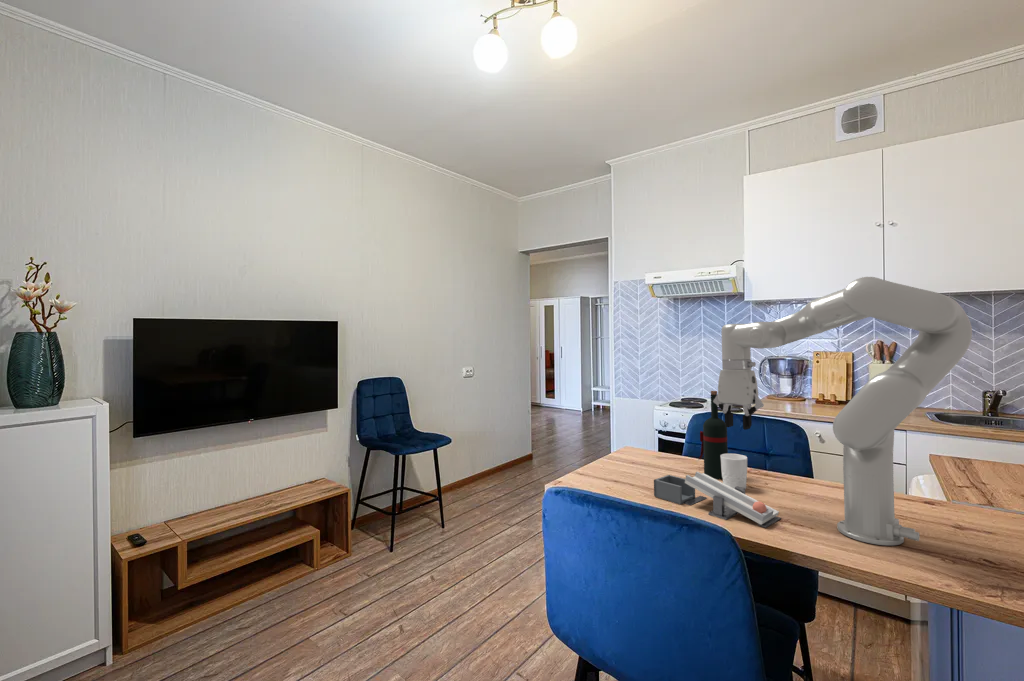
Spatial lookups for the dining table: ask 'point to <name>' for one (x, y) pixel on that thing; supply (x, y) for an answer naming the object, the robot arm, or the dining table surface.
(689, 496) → the grey open cubby box
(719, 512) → the stand
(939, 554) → the dining table surface
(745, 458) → the white cup
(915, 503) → the dining table surface
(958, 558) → the dining table surface
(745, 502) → the seesaw
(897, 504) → the dining table surface
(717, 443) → the wine bottle
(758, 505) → the ball
